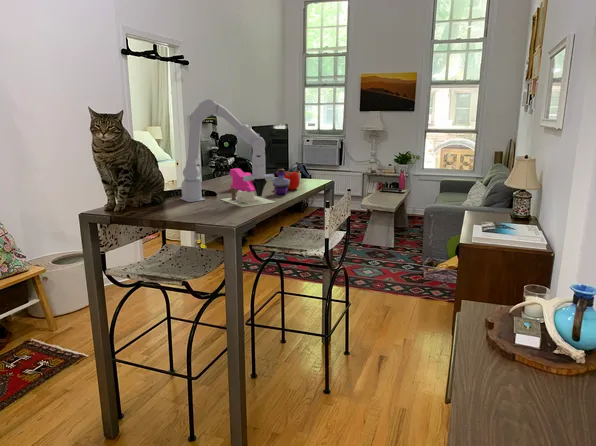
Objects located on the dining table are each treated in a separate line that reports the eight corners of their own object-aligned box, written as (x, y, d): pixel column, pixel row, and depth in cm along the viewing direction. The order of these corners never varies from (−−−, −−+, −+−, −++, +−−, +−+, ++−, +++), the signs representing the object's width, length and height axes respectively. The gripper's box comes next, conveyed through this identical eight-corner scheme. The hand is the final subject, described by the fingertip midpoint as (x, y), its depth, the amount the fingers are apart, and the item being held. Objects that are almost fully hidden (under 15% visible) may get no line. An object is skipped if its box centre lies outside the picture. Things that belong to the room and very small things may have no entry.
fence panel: (237, 200, 196) (236, 190, 195) (238, 199, 197) (238, 190, 196) (253, 201, 193) (253, 192, 192) (254, 201, 194) (254, 191, 193)
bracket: (230, 190, 224) (230, 169, 222) (241, 186, 233) (241, 167, 231) (251, 192, 219) (251, 171, 217) (261, 188, 228) (261, 168, 226)
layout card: (220, 199, 199) (220, 198, 199) (253, 195, 209) (253, 194, 209) (242, 207, 185) (242, 206, 185) (276, 202, 195) (276, 201, 194)
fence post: (230, 200, 198) (230, 187, 196) (234, 199, 199) (234, 186, 198) (232, 201, 196) (232, 187, 195) (236, 200, 198) (236, 187, 196)
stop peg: (237, 204, 190) (237, 197, 190) (240, 203, 191) (240, 197, 191) (239, 204, 189) (239, 198, 188) (242, 204, 190) (242, 197, 189)
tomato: (301, 187, 232) (301, 170, 229) (295, 191, 220) (296, 173, 218) (281, 186, 234) (281, 169, 232) (275, 190, 223) (274, 172, 221)
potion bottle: (293, 194, 214) (294, 168, 211) (281, 196, 208) (281, 170, 205) (280, 191, 220) (280, 167, 217) (268, 194, 213) (268, 168, 210)
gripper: (268, 163, 203) (268, 193, 206) (239, 165, 195) (240, 196, 199) (276, 165, 197) (276, 195, 201) (247, 167, 190) (247, 198, 193)
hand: (259, 196), depth 199 cm, fingers closed
